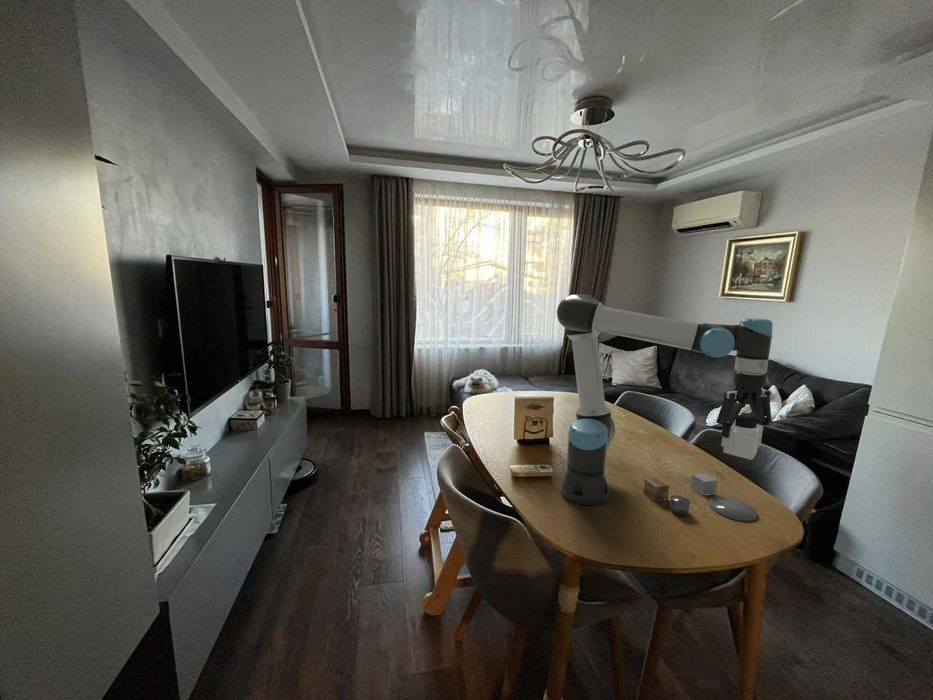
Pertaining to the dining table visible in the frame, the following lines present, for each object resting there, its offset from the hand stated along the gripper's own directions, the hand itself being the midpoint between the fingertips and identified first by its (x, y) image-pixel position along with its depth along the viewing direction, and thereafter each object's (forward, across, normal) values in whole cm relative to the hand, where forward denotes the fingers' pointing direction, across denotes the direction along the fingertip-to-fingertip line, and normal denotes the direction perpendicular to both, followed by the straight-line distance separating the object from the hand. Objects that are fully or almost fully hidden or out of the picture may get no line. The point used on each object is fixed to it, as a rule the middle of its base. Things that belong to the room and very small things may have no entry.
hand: (740, 446), depth 113 cm
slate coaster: (+20, 0, 0) cm, 20 cm away
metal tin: (+20, -17, +2) cm, 27 cm away
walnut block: (+20, -18, +11) cm, 30 cm away
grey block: (+21, 0, +11) cm, 23 cm away
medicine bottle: (+2, 0, 0) cm, 2 cm away
